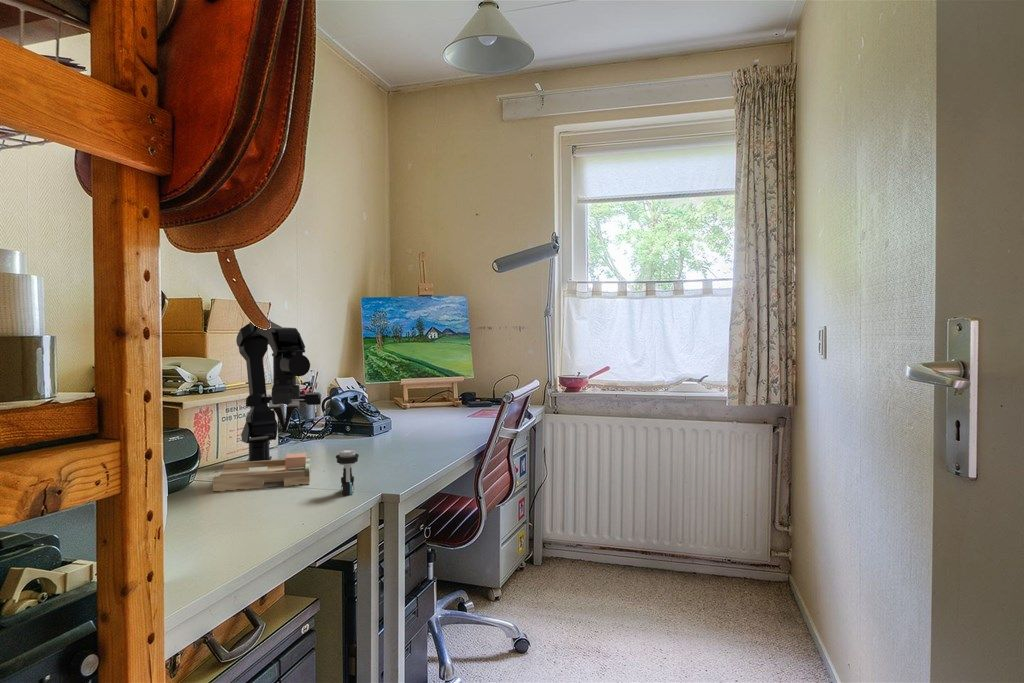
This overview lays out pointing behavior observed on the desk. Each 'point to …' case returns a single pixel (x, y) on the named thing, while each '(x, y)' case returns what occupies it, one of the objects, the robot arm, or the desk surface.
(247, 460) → the robot arm
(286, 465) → the block
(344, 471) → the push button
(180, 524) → the desk surface
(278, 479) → the board
